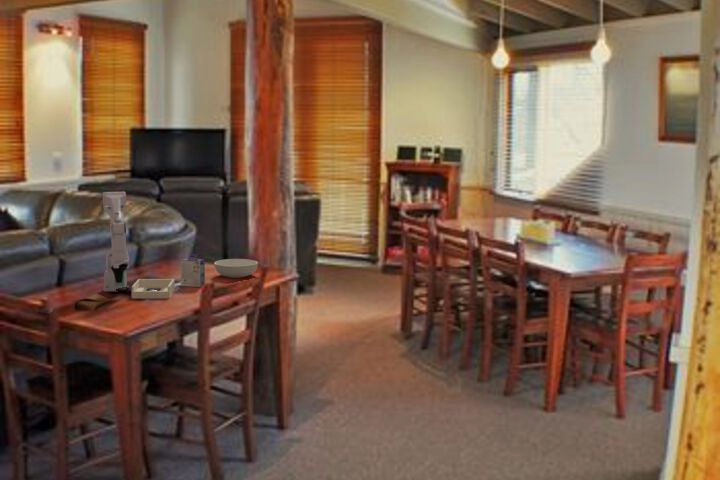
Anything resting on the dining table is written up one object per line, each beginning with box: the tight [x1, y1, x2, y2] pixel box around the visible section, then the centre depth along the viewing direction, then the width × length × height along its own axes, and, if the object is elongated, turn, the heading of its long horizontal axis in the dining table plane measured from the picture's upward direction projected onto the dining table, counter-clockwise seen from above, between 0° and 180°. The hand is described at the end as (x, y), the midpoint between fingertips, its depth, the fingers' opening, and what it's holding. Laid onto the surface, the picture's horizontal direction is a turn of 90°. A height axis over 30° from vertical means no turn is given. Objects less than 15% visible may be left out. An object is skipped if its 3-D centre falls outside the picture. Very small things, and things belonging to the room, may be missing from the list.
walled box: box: [131, 278, 176, 299], centre depth 379 cm, size 16×16×5 cm
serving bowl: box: [213, 258, 259, 279], centre depth 418 cm, size 21×21×7 cm
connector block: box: [114, 270, 127, 286], centre depth 371 cm, size 4×4×6 cm
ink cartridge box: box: [180, 253, 206, 288], centre depth 396 cm, size 10×6×14 cm, turn 78°
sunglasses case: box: [74, 292, 113, 312], centre depth 358 cm, size 18×7×7 cm, turn 171°
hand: (120, 281), depth 371 cm, fingers closed on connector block, 4 cm apart
